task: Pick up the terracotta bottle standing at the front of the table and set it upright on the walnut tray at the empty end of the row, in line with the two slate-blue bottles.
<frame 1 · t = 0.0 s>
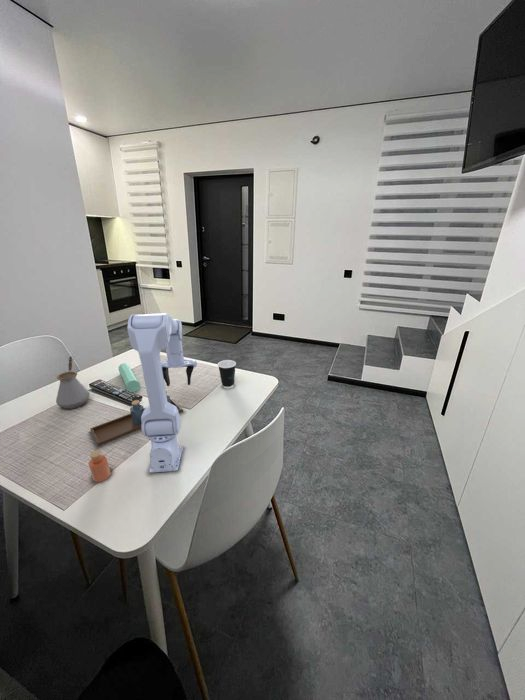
hand: (179, 384, 109), 10 cm above the table, tool pointing down, fingers open, 7 cm apart
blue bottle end: (165, 410, 109), resting on tray
terracotta bottle: (102, 476, 80), on the table
dixie cup: (228, 386, 128), on the table
tray: (139, 422, 103), on the table
blue bottle middle: (139, 420, 103), resting on tray
container: (129, 381, 133), on the table
coffee pot: (76, 398, 119), on the table
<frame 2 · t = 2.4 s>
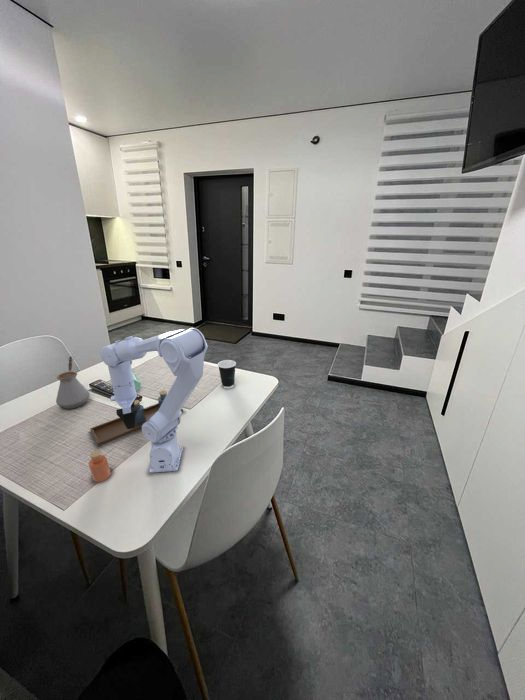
hand: (130, 420, 88), 10 cm above the table, tool pointing down, fingers open, 7 cm apart
nothing on the table moved.
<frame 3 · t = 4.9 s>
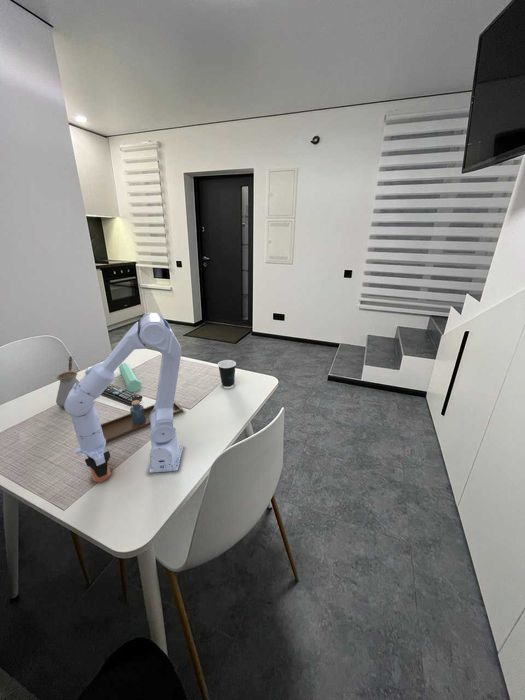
hand: (100, 469, 79), 2 cm above the table, tool pointing down, fingers closed on terracotta bottle, 4 cm apart
terracotta bottle: (102, 476, 80), on the table, touching gripper
everything else where it was.
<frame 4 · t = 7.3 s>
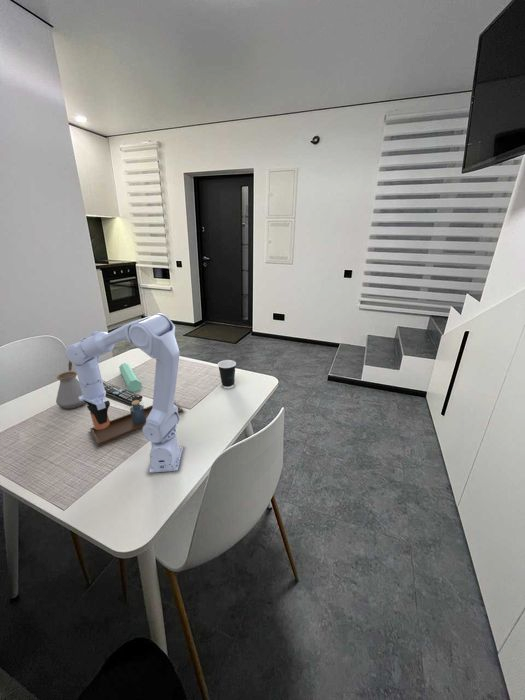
hand: (100, 419, 89), 10 cm above the table, tool pointing down, fingers closed on terracotta bottle, 4 cm apart
terracotta bottle: (102, 425, 89), point 8 cm above the table, touching gripper
everything else where it was.
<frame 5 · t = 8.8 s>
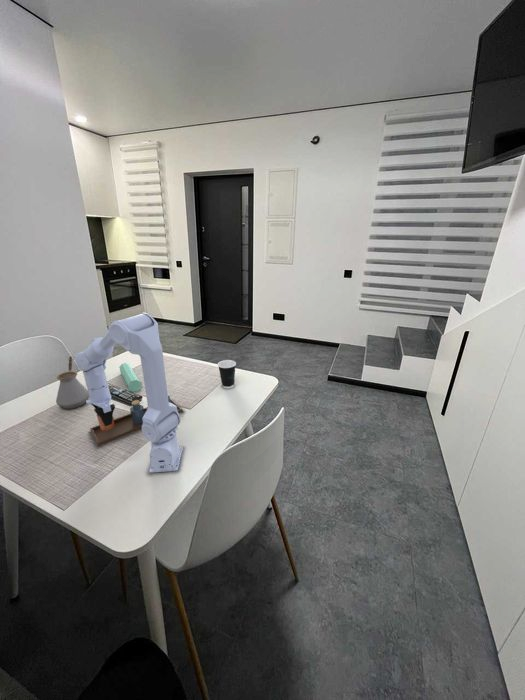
hand: (106, 421, 95), 5 cm above the table, tool pointing down, fingers closed on terracotta bottle, 4 cm apart
terracotta bottle: (107, 426, 96), point 3 cm above the table, touching gripper
everything else where it was.
when the fingers open (3 cm above the table, at t = 10.0 s): terracotta bottle stays where it is, resting on tray.
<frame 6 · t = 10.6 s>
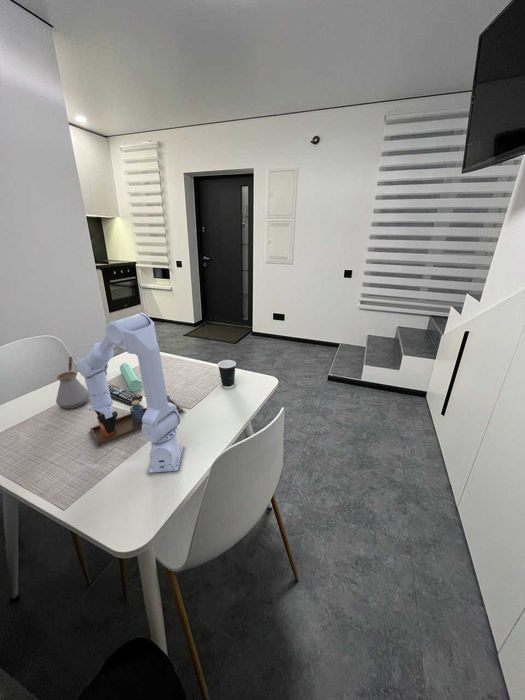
hand: (107, 426, 96), 3 cm above the table, tool pointing down, fingers open, 7 cm apart
terracotta bottle: (109, 432, 97), resting on tray
everything else where it was.
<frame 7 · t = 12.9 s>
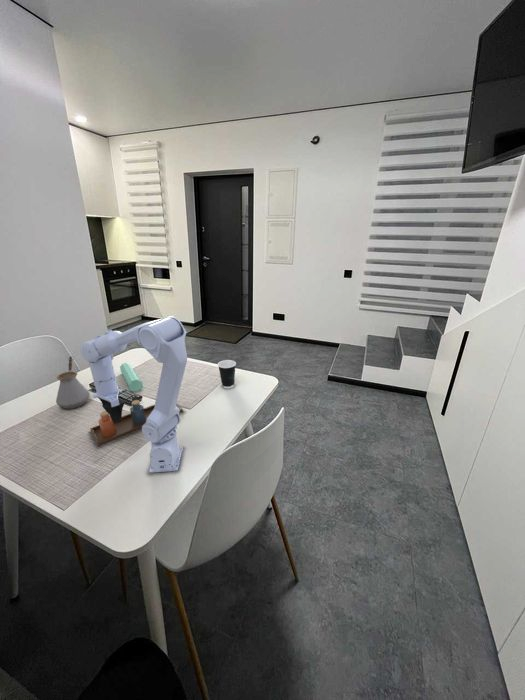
hand: (113, 416, 89), 10 cm above the table, tool pointing down, fingers open, 7 cm apart
nothing on the table moved.
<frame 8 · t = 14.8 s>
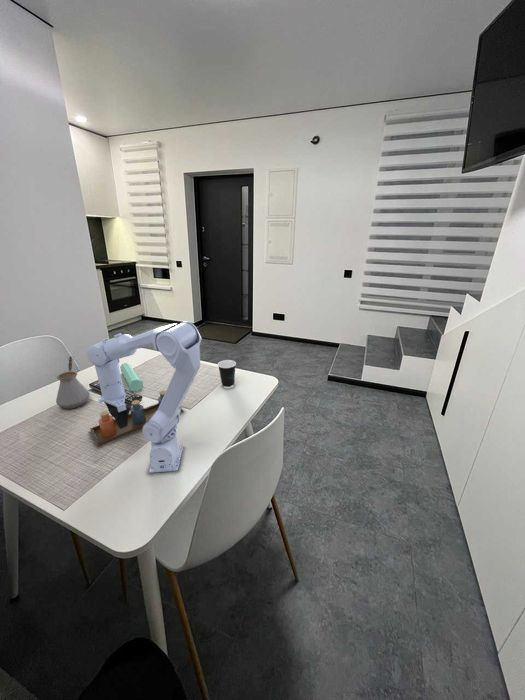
hand: (119, 420, 87), 10 cm above the table, tool pointing down, fingers open, 7 cm apart
nothing on the table moved.
at the end: terracotta bottle 0.1 cm from the target spot in the tray, point 0.5 cm above the tray's base; terracotta bottle tilted 0°; blue bottle middle moved 0.0 cm from its start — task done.
